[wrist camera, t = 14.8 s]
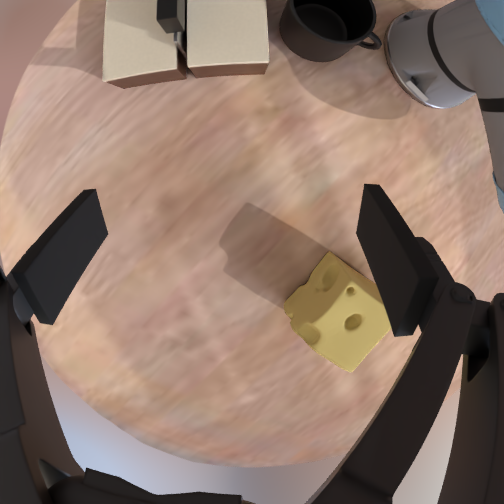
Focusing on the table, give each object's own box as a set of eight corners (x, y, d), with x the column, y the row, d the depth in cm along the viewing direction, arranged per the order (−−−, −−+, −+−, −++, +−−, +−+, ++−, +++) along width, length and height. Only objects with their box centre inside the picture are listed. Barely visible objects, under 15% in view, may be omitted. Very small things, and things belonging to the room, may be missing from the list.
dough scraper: (195, -8, 28) (179, -56, 17) (196, 59, 31) (176, 26, 20) (181, -6, 28) (160, -53, 17) (181, 61, 31) (155, 30, 20)
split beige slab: (259, -16, 29) (263, -41, 23) (264, 74, 34) (269, 61, 28) (126, -1, 29) (108, -20, 22) (123, 88, 34) (102, 81, 27)
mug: (354, 83, 35) (383, 71, 26) (267, 44, 33) (275, 20, 24) (375, 30, 32) (405, 10, 23) (294, -9, 30) (307, -40, 21)
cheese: (281, 302, 45) (291, 344, 35) (330, 244, 42) (353, 275, 33) (333, 334, 47) (350, 375, 38) (378, 282, 44) (407, 317, 35)
